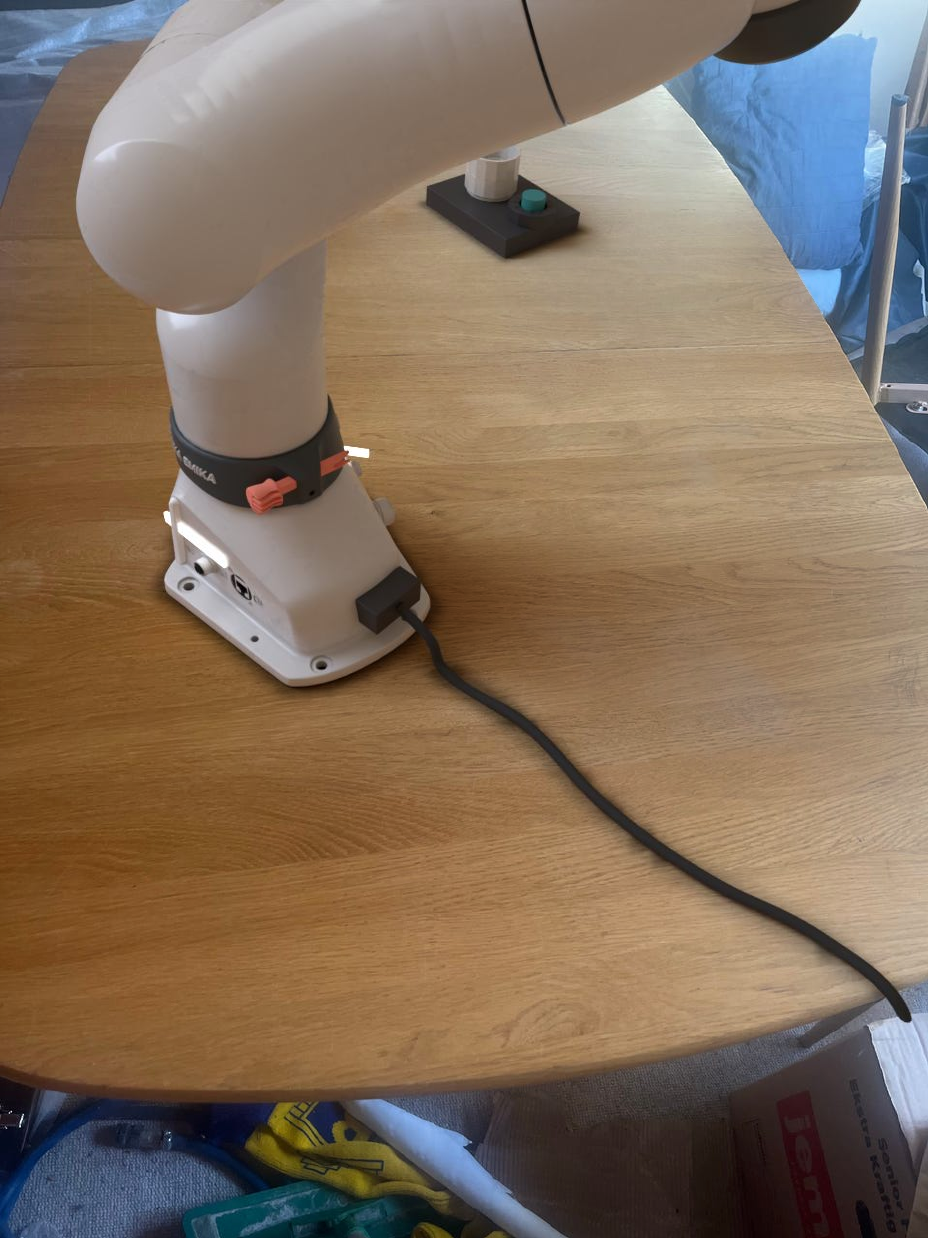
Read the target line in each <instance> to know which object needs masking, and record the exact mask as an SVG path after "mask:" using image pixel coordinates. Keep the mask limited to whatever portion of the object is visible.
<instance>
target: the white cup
mask: <svg viewBox="0 0 928 1238" xmlns="http://www.w3.org/2000/svg"><path fill="white" fill-rule="evenodd" d="M521 154H522V148H520V146H519V145H518V144H516V145H513V146H510V147H507V148H505V149H502V150H499V151H497V152H494V153H491V154H489V155H486V156H483V157H481V158H478V159H475V160H472V161H470V162H467V163H465V173H464V174H465V187H466V189H467V192H468V193H469V194H470V195H471V196H472V197H474V198H476V199H479V200H482V201H488V202H501V201H505V200H508V199H510V198H511V197H512V196H513V195H514V193H515V192H516V191H517V182H518V174H519V171H520V163H521Z"/></svg>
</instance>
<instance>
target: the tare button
mask: <svg viewBox="0 0 928 1238" xmlns="http://www.w3.org/2000/svg"><path fill="white" fill-rule="evenodd" d="M545 201H546V194H545V193H544V192H542V191H540V190H535V189H529V190H526V191H524V192H523V194H522V202H521V207H522V208H523V209H525V210H528V211H532V212H540V211H543V210H544V208H545Z"/></svg>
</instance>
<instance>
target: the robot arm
mask: <svg viewBox="0 0 928 1238" xmlns="http://www.w3.org/2000/svg"><path fill="white" fill-rule="evenodd" d="M861 2H862V0H188V1H187V2H185V3H183V4H182V5H180V6H179V7H178V8H177V9H176V10H175V11H173V13H172V14H171V15H170V17H169V18H168V19H167V20H166V21H165V23H164V24H163V26H162V27H161V28H160V30H159V31H158V32H157V34H156V35H155V36H154V38H153V39H152V40H151V41H150V43H149V45H148V46H147V47H146V48H145V50H144V51H143V53H142V54H141V55H140V57H139V58H138V60H137V61H136V62H135V64H134V66H133V67H132V69H131V70H130V71H129V73H128V75H127V76H126V77H125V79H124V80H123V81H122V83H121V84H120V86H119V87H118V88H117V90H116V91H115V92H114V94H112V96H111V97H110V99H109V100H108V102H107V103H106V104H105V106H104V107H103V109H102V110H101V111H100V112H99V114H98V116H97V117H96V120H95V121H94V123H93V125H92V128H91V132H90V134H89V137H88V141H87V144H86V148H85V152H84V156H83V160H82V163H81V169H80V174H79V178H78V184H77V190H76V196H75V197H76V198H75V208H76V209H75V210H76V211H75V212H76V218H77V223H78V227H79V231H80V233H81V236H82V238H83V241H84V243H85V245H86V247H87V249H88V251H89V253H90V254H91V256H92V257H93V259H94V260H95V262H96V263H97V264H98V266H99V267H100V269H102V271H103V272H104V273H105V274H106V275H107V276H108V278H109V279H111V280H112V282H114V283H115V284H116V285H117V286H118V287H120V288H121V289H122V290H124V291H125V292H126V293H128V294H129V295H130V296H132V297H134V298H135V299H137V300H139V301H140V302H142V303H144V304H147V305H149V306H151V307H153V308H155V325H156V332H157V337H158V342H159V348H160V351H161V357H162V362H163V366H164V371H165V376H166V381H167V387H168V391H169V396H170V401H171V406H170V408H169V434H170V441H171V446H172V448H173V451H174V453H175V459H176V462H177V464H178V466H179V470H178V474H177V476H176V477H177V478H176V481H175V484H174V487H173V490H172V492H171V495H170V498H169V502H168V510H166V511H164V512H163V516H164V520H165V522H166V523H167V524H168V525H169V526H170V527H171V534H172V535H171V536H172V543H173V550H174V557H175V558H174V560H173V561H172V562H171V564H170V566H169V568H168V569H167V571H166V572H165V575H164V578H163V579H164V581H163V582H164V588H165V589H164V590H165V591H166V593H167V594H168V595H169V596H170V597H171V598H173V599H174V600H175V601H177V602H178V603H179V604H180V605H182V606H183V607H184V608H185V609H187V611H189V612H191V613H192V614H193V615H194V616H196V617H197V618H198V619H200V620H201V621H202V622H203V623H205V624H206V625H207V626H208V627H210V628H211V629H213V630H214V631H215V632H216V633H218V634H219V635H220V636H221V637H223V638H224V639H225V640H226V641H228V642H229V643H231V644H232V645H233V646H234V647H236V648H237V649H238V650H240V651H241V652H242V653H244V654H245V655H246V656H247V657H249V658H250V659H251V660H252V661H254V662H255V663H256V664H257V665H259V666H260V667H262V668H263V670H265V671H266V672H267V673H269V674H270V675H272V676H273V677H275V678H276V679H277V680H278V681H280V682H281V683H283V684H284V685H286V686H288V687H292V688H293V687H309V686H316V685H321V684H325V683H328V682H332V681H336V680H338V679H340V678H344V677H347V676H349V675H351V674H353V673H355V672H357V671H359V670H361V669H364V668H365V667H367V666H369V665H371V664H373V663H374V662H375V663H376V662H377V661H378V660H380V659H381V658H383V657H385V656H386V655H388V654H389V653H391V652H392V651H394V650H395V649H397V648H398V647H399V646H400V645H402V644H403V643H405V642H406V641H407V640H408V639H409V638H410V637H411V636H412V635H414V634H415V633H417V634H418V635H419V636H420V637H421V639H422V640H423V642H424V643H425V644H426V646H427V648H428V651H429V653H430V658H431V661H432V663H433V665H434V667H435V669H436V671H437V672H438V673H439V674H440V675H441V676H442V677H443V678H444V679H445V680H446V681H447V682H448V683H449V684H450V685H452V686H453V687H455V688H456V689H458V690H459V691H461V692H462V693H463V694H466V695H467V696H469V697H470V698H472V699H473V700H475V701H477V702H478V703H480V704H482V706H483V705H484V706H485V707H487V708H488V709H490V710H493V711H494V712H496V713H497V714H499V715H502V716H503V717H505V718H507V719H508V720H510V722H512V723H514V724H515V725H516V726H518V727H519V728H520V729H522V730H523V731H524V732H525V733H526V734H527V735H529V736H530V737H531V738H532V739H533V741H535V742H536V743H537V744H538V745H539V746H540V747H541V748H542V749H543V750H544V751H545V752H546V753H547V754H548V755H549V757H550V758H551V759H552V760H553V761H554V762H555V764H556V765H557V766H558V767H559V768H560V769H561V770H562V771H563V773H564V774H565V775H566V776H567V777H568V779H569V780H570V781H571V782H572V783H573V784H574V785H575V786H576V787H577V789H579V790H580V791H581V792H582V794H583V795H585V797H586V798H587V799H589V801H590V802H592V803H593V804H594V805H595V806H596V807H597V808H598V809H599V810H600V811H601V812H602V813H604V814H605V815H606V816H608V818H610V819H611V820H612V821H613V822H614V823H616V824H617V825H618V826H619V827H621V828H622V829H623V830H624V831H626V832H627V833H628V834H630V835H631V836H632V837H633V838H634V839H636V840H637V841H638V842H639V843H641V844H642V845H644V846H645V847H646V848H648V849H649V850H650V851H652V852H654V853H655V854H656V855H658V856H660V857H661V858H662V859H664V860H666V861H667V862H669V863H670V864H671V865H672V866H674V867H676V868H677V869H679V870H680V871H682V872H683V873H685V874H686V875H688V876H690V877H691V878H693V879H694V880H696V881H697V882H700V883H701V884H702V885H704V886H706V887H708V888H709V889H711V890H713V891H714V892H716V893H718V894H720V895H721V896H724V897H725V898H727V899H729V900H732V901H734V902H736V903H737V904H740V905H742V906H744V907H746V908H748V909H751V910H753V911H755V912H756V913H760V914H762V915H763V916H766V917H769V918H770V919H772V920H775V921H777V922H779V923H780V924H783V925H785V926H786V927H789V928H791V929H792V930H794V931H796V932H798V933H800V934H801V935H803V936H804V937H806V938H807V939H810V940H811V941H813V942H814V943H816V944H817V945H819V946H821V947H822V949H825V950H827V952H829V953H831V954H832V955H833V956H835V957H837V958H838V959H840V960H841V961H842V962H844V963H845V964H847V965H849V967H851V968H852V969H854V970H855V971H856V972H858V973H859V974H860V975H862V977H864V978H865V979H867V980H868V982H870V983H871V984H873V986H875V988H876V989H877V990H879V992H880V993H881V995H883V996H884V998H885V999H886V1000H887V1001H888V1003H889V1004H890V1006H891V1007H892V1009H893V1011H894V1013H895V1015H896V1016H897V1017H898V1019H899V1020H900V1021H902V1022H903V1023H905V1024H910V1023H911V1022H912V1021H913V1018H912V1013H911V1011H910V1009H909V1007H908V1005H907V1003H906V1002H905V1000H904V998H903V997H902V995H901V994H900V992H899V991H898V990H897V989H896V987H895V986H894V985H893V984H892V983H891V982H890V981H889V980H888V979H887V978H886V977H885V976H884V975H883V974H882V973H881V972H880V971H879V970H878V969H876V968H875V967H874V966H873V965H872V964H870V962H868V961H866V960H865V959H864V958H862V957H861V956H859V955H858V954H857V953H855V952H854V951H853V950H850V949H849V948H848V947H847V946H845V945H843V944H842V943H841V942H839V941H837V940H836V939H834V938H833V937H832V936H830V935H828V934H827V933H826V932H824V931H822V930H821V929H819V928H818V927H816V926H814V925H813V924H811V923H809V922H807V921H806V920H804V919H803V918H801V917H799V916H797V915H796V914H793V913H791V912H789V911H787V910H785V909H784V908H781V907H779V906H776V905H775V904H772V903H770V902H768V901H766V900H763V899H761V898H759V897H756V896H754V895H752V894H750V893H748V892H746V891H744V890H742V889H739V888H738V887H735V886H733V885H731V884H729V883H727V882H726V881H724V880H722V879H720V878H719V877H716V876H715V875H713V874H711V873H710V872H708V871H707V870H704V869H703V868H702V867H700V866H698V865H697V864H695V863H694V862H692V861H691V860H689V859H687V858H686V857H685V856H684V855H681V854H680V853H678V852H677V851H676V850H673V849H672V848H671V847H669V846H668V845H666V844H665V843H663V842H662V841H660V840H659V839H658V838H656V837H655V836H654V835H652V834H651V833H649V831H647V830H646V829H644V828H642V827H641V826H640V825H639V824H638V823H636V822H635V821H634V820H632V819H631V818H630V817H629V816H627V815H626V814H625V813H624V812H623V811H621V810H620V809H619V808H618V807H616V806H615V805H614V804H613V803H612V802H610V800H608V799H607V798H606V797H605V796H604V795H602V794H601V792H599V790H597V789H596V788H595V787H594V786H593V785H592V784H591V783H590V782H589V781H588V780H587V779H586V777H585V776H584V775H583V774H582V773H581V772H580V771H579V770H578V768H576V767H575V766H574V764H573V763H572V762H571V761H570V759H568V757H567V756H566V755H565V754H564V753H563V751H561V749H560V748H559V747H558V746H557V745H556V744H555V743H554V741H552V739H551V738H549V737H548V736H547V734H545V733H544V732H543V731H542V730H541V729H540V728H539V727H538V726H537V725H536V724H535V723H533V722H532V721H531V720H530V719H528V718H527V717H526V716H525V715H523V714H521V713H520V712H519V711H518V710H516V709H515V708H513V707H511V706H510V705H507V704H506V703H504V702H502V701H500V700H498V699H497V698H495V697H492V696H491V695H488V694H487V693H485V692H483V691H481V690H479V689H478V688H476V687H474V686H472V685H471V684H470V683H468V682H466V681H465V680H463V679H462V678H461V676H459V675H458V674H457V673H455V671H453V670H452V668H451V667H450V666H449V665H448V664H447V663H446V662H445V660H444V658H443V655H442V650H441V647H440V644H439V641H438V639H437V638H436V637H435V635H434V634H433V632H432V631H431V630H430V628H429V627H428V626H427V625H426V624H425V623H424V621H425V620H426V618H427V616H428V614H429V613H430V609H431V597H430V596H429V594H428V592H427V590H426V589H425V587H424V586H423V584H422V580H421V579H420V578H419V577H417V575H416V573H415V572H414V571H413V568H412V567H411V566H410V565H409V563H408V561H407V560H406V558H405V557H404V555H403V553H402V552H401V551H400V549H399V548H398V546H397V544H396V543H395V541H394V539H393V537H392V535H391V534H390V532H389V530H388V528H387V527H388V526H391V525H392V524H393V523H395V519H396V516H395V511H394V507H393V505H392V504H391V502H390V500H389V499H388V498H387V497H384V496H381V497H378V498H375V499H373V500H372V499H371V497H370V494H369V493H368V491H367V490H366V488H365V485H364V484H363V482H362V481H361V479H360V477H362V476H363V468H362V466H361V464H360V462H359V461H358V460H351V461H350V459H349V457H348V456H353V457H360V458H369V457H370V449H369V448H360V447H353V446H346V445H345V444H344V441H343V438H342V437H343V436H342V434H341V433H342V432H341V430H340V429H341V424H340V421H339V418H338V417H339V416H338V415H337V413H336V412H335V408H334V404H333V401H332V399H331V397H330V394H329V393H328V379H327V378H328V376H327V375H328V373H327V358H326V357H327V356H326V353H327V352H326V335H325V331H326V330H325V295H326V280H327V279H326V276H327V262H328V261H327V260H328V259H327V258H328V239H329V237H330V236H332V235H334V234H336V233H338V232H340V231H342V230H343V229H345V228H346V227H348V226H350V225H351V224H353V223H355V222H356V221H358V220H360V219H361V218H363V217H364V216H366V215H369V213H371V212H373V211H374V210H376V209H377V208H379V207H380V206H383V205H384V204H386V203H387V202H390V201H391V200H392V199H394V198H396V197H397V196H399V195H400V194H402V193H404V192H406V191H407V190H409V189H412V188H413V187H415V186H417V185H419V184H421V183H422V182H425V181H427V180H429V179H431V178H433V177H435V176H437V175H440V174H441V173H444V172H446V171H448V170H449V171H450V170H452V169H454V168H457V167H459V166H462V165H464V164H466V163H467V162H470V161H472V160H475V159H478V158H481V157H483V156H486V155H489V154H491V153H494V152H497V151H499V150H502V149H505V148H507V147H510V146H513V145H516V144H517V145H518V144H522V143H524V142H526V141H529V140H532V139H534V138H537V137H541V136H543V135H545V134H548V133H552V132H554V131H557V130H560V129H562V128H565V127H568V125H569V126H570V125H573V124H576V123H579V122H581V121H584V120H587V119H589V118H592V117H594V116H597V115H599V114H602V113H604V112H606V111H608V110H611V109H613V108H616V107H618V106H620V105H622V104H624V103H627V102H629V101H631V100H634V99H635V98H637V97H639V96H642V95H643V94H645V93H648V92H650V91H651V90H654V89H656V88H658V87H660V86H662V85H663V84H665V83H667V82H669V81H671V80H672V79H674V78H676V77H678V76H679V75H682V74H683V73H685V72H687V71H689V70H690V69H692V68H694V67H695V66H697V65H699V64H700V63H702V62H704V61H705V60H707V59H709V58H710V57H712V56H713V57H715V58H717V59H719V60H721V61H724V62H727V63H728V62H729V63H731V64H740V65H748V66H761V65H770V64H775V63H780V62H783V61H788V60H791V59H793V58H796V57H798V56H801V55H803V54H805V53H807V52H809V51H810V50H812V49H814V48H816V47H817V46H819V45H820V44H822V43H823V42H825V41H826V40H827V39H828V38H830V37H831V36H832V35H833V34H835V32H837V30H839V29H840V28H842V27H843V26H844V24H845V23H847V22H848V20H849V19H850V18H851V17H852V16H853V15H854V13H855V12H856V11H857V9H858V7H859V6H860V4H861ZM322 667H323V668H325V669H319V668H322Z"/></svg>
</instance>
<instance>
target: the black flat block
mask: <svg viewBox="0 0 928 1238" xmlns="http://www.w3.org/2000/svg"><path fill="white" fill-rule="evenodd" d="M529 189H535V190H540V191H542V192H544V193H545V194H546V201H545V208H544V210H543V211H540V212H532V211H528V210H525V209H523V208H522V207H521V202H522V194H523V192H524V191H526V190H529ZM425 192H426V194H425V205H426V206H427V207H429V208H430V209H432V210H433V211H435V212H436V213H438V214H439V215H440V216H442V217H443V218H445V219H446V220H447V221H449V222H450V223H452V224H454V225H455V226H456V227H458V228H459V229H461V230H462V231H463V232H465V233H467V234H468V235H469V236H471V237H472V238H474V239H475V240H477V241H478V242H480V243H481V244H482V245H484V246H485V247H487V248H488V249H490V250H491V251H492V252H494V253H495V254H497V255H498V256H500V257H502V258H503V259H507V258H509V257H512V256H514V255H517V254H520V253H522V252H525V251H528V250H530V249H533V248H536V247H538V246H541V245H543V244H545V243H548V242H552V241H553V240H556V239H559V238H561V237H564V236H567V235H569V234H572V233H574V232H577V231H578V229H579V222H580V217H581V211H579V210H578V209H576V208H574V207H573V206H571V205H569V204H568V203H566V202H564V201H563V200H561V199H560V198H558V197H556V196H555V195H553V194H552V193H550V192H549V191H547V190H545V189H544V188H542V187H540V186H539V185H537V184H536V183H534V182H532V181H531V180H529V179H527V178H526V177H524V176H523V175H521V174H519V173H518V182H517V191H516V192H515V193H514V195H513V196H512V197H511V198H510V199H508V200H505V201H501V202H488V201H482V200H479V199H476V198H474V197H472V196H471V195H470V194H469V193H468V192H467V189H466V187H465V173H463V174H459V175H457V176H453V177H450V178H447V179H444V180H441V181H438V182H435V183H432V184H429V185H426V191H425Z"/></svg>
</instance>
